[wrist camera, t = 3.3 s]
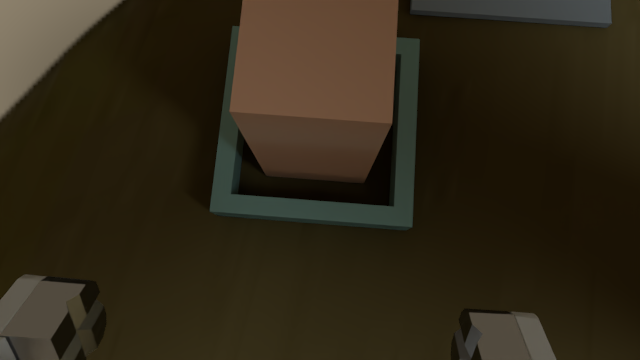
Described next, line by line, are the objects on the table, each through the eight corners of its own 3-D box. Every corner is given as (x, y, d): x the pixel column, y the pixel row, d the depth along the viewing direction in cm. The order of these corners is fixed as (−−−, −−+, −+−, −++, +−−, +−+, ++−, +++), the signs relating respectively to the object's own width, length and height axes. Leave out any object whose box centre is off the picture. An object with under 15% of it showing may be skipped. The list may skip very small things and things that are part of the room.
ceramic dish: (413, 55, 28) (423, 30, 25) (405, 230, 26) (416, 225, 23) (238, 42, 28) (229, 16, 26) (217, 215, 26) (204, 208, 24)
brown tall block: (369, 91, 28) (399, -24, 17) (363, 183, 27) (392, 123, 16) (275, 84, 28) (246, -34, 17) (266, 175, 27) (229, 111, 16)
